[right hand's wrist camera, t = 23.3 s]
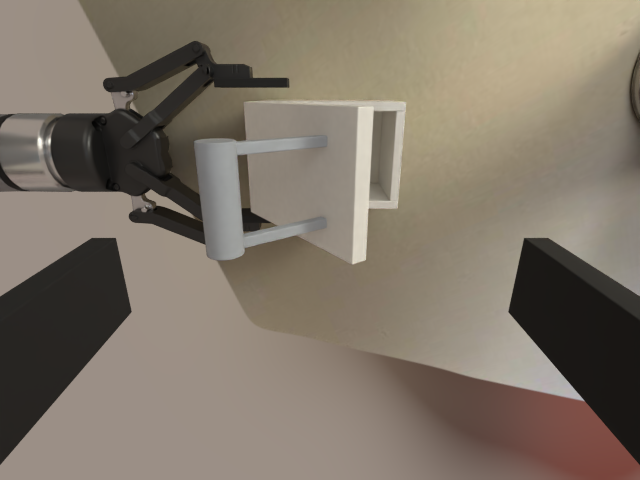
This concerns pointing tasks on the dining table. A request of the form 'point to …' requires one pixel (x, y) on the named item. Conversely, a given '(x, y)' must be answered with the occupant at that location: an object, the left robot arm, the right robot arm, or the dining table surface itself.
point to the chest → (379, 147)
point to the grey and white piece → (290, 179)
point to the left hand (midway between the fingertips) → (290, 153)
